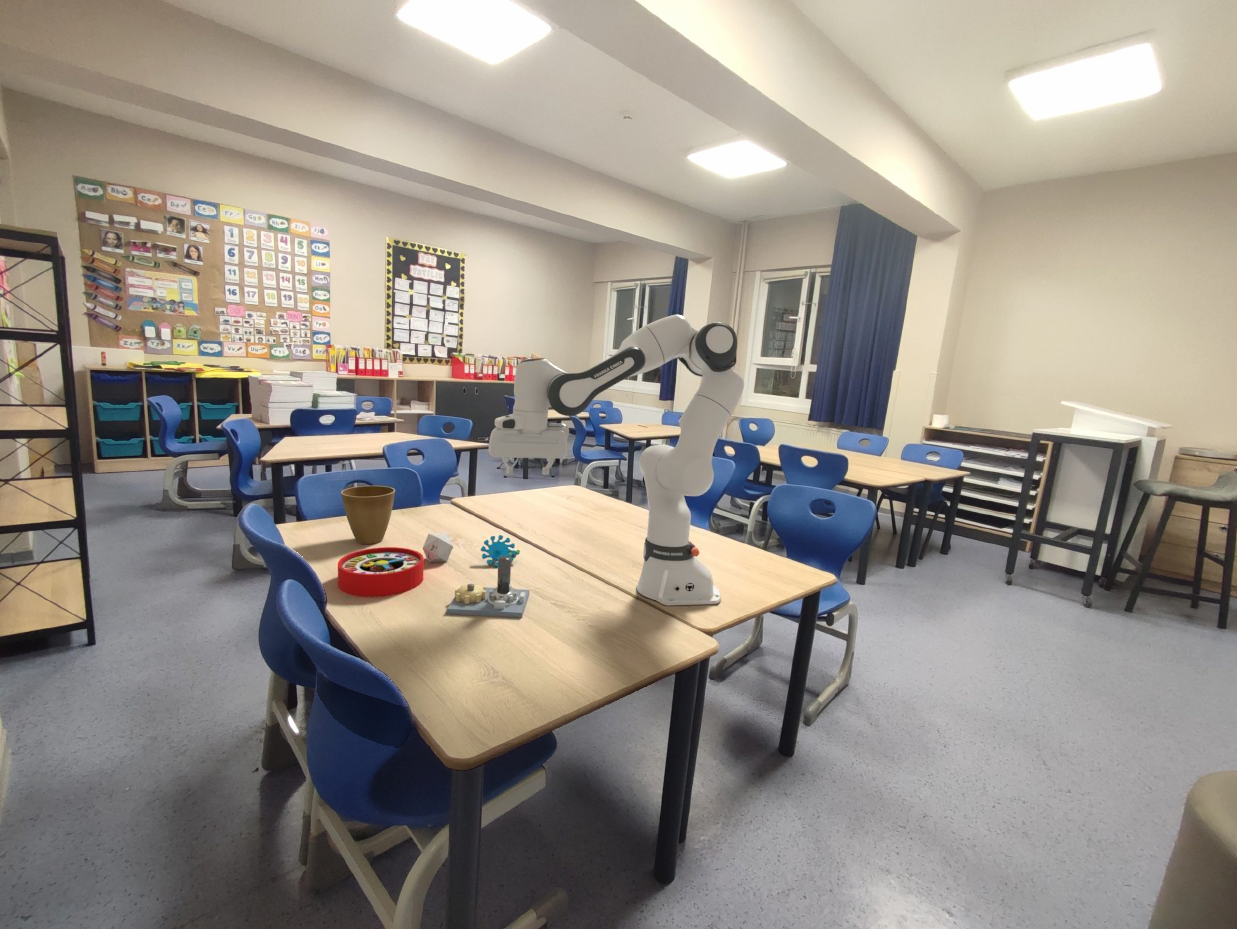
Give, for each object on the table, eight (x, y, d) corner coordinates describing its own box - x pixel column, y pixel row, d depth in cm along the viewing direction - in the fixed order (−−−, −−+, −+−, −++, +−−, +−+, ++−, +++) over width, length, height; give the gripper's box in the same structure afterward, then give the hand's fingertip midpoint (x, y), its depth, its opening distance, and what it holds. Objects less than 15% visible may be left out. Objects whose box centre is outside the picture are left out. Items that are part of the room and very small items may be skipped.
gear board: (529, 594, 134) (530, 577, 133) (521, 617, 121) (522, 599, 120) (461, 590, 133) (462, 573, 132) (447, 613, 120) (447, 595, 120)
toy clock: (326, 555, 135) (405, 542, 148) (327, 577, 136) (405, 562, 149) (353, 581, 121) (437, 564, 134) (353, 605, 122) (436, 586, 135)
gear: (518, 593, 131) (520, 554, 129) (514, 605, 124) (516, 563, 122) (492, 592, 130) (493, 552, 129) (486, 603, 124) (488, 562, 122)
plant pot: (378, 530, 174) (378, 483, 171) (404, 541, 166) (404, 491, 163) (332, 539, 162) (331, 489, 159) (358, 552, 154) (357, 498, 151)
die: (415, 560, 152) (416, 541, 146) (434, 540, 158) (435, 520, 152) (440, 573, 152) (441, 555, 145) (457, 552, 158) (459, 533, 151)
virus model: (478, 563, 148) (484, 531, 154) (476, 571, 153) (482, 540, 158) (517, 568, 151) (522, 537, 156) (515, 576, 155) (519, 545, 161)
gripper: (566, 422, 142) (563, 472, 144) (488, 418, 135) (486, 471, 137) (572, 424, 136) (569, 477, 139) (491, 421, 129) (489, 476, 131)
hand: (527, 474), depth 138 cm, fingers open, 8 cm apart
